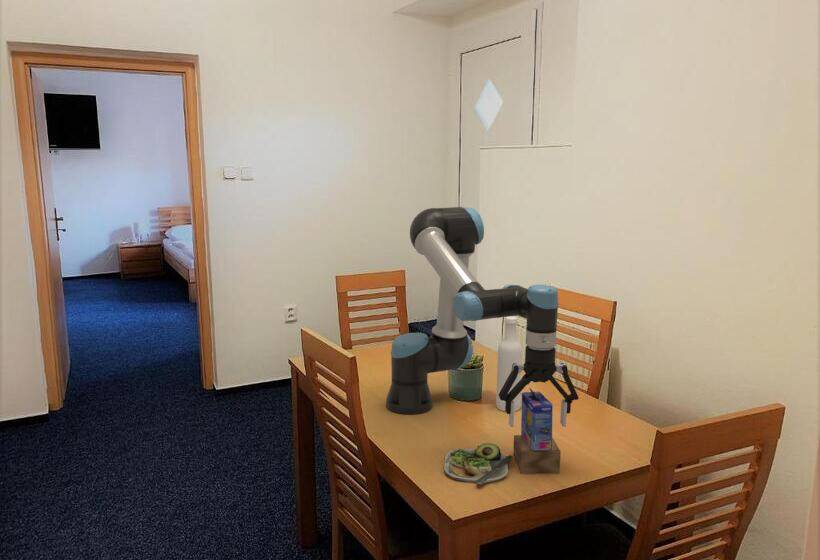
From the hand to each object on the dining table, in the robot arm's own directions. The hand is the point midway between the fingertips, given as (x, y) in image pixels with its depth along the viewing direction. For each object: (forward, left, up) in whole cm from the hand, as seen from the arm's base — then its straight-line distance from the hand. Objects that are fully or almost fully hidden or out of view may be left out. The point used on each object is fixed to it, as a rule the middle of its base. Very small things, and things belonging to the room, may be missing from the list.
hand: (537, 425), depth 167 cm
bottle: (0, +40, -11) cm, 41 cm away
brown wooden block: (0, 0, -11) cm, 11 cm away
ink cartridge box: (0, 0, -5) cm, 5 cm away
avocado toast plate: (-15, -1, -12) cm, 19 cm away
